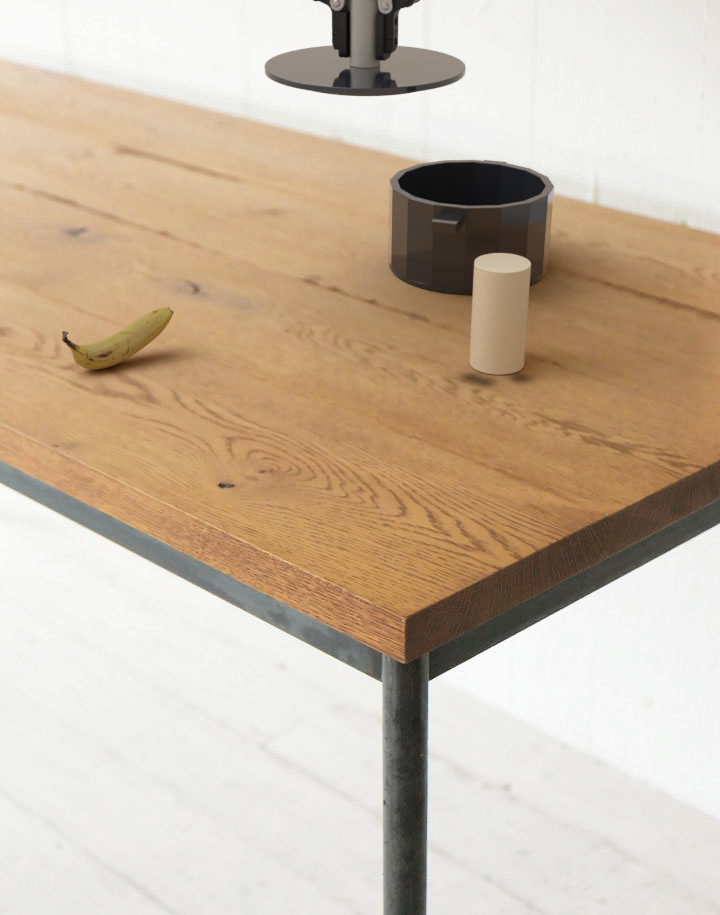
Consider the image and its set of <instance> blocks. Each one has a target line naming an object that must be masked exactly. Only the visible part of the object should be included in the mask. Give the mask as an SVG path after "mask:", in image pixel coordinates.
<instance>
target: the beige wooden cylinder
mask: <svg viewBox="0 0 720 915" xmlns="http://www.w3.org/2000/svg"><path fill="white" fill-rule="evenodd" d="M530 272H531V262H530V261H529V260H528V259H526V258H524V257H522V256H519V255H515V254H509V253H491V254H485V255H482V256H479V257H478V258H476V259H475V261H474V277H473V295H472V297H471V299H472V301H471V321H470V323H471V325H470V343H469V365H470V367H471V368H473V369H474V371H475V370H476V371H478V372H480V373H482V374H487V375H494V376H495V375H496V376H503V375H511V374H515V373H518V372H519V371H521V370H522V369H523V368H524V367H525V357H526V344H527V343H526V342H527V327H528V315H529V314H528V313H529V299H530V286H531V285H530Z"/></svg>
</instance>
